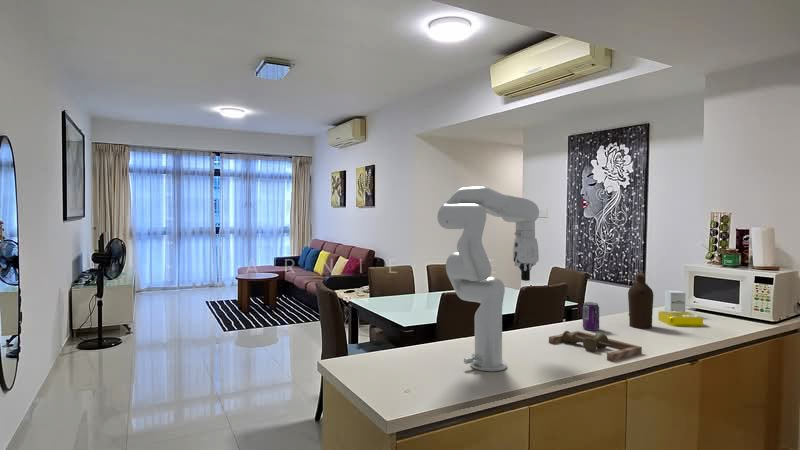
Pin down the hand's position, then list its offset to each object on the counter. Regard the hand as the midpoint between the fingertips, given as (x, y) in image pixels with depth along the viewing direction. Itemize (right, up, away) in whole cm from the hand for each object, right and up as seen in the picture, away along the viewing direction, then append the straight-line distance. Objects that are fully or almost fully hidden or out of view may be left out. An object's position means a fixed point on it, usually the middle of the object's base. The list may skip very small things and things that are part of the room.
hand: (525, 280), depth 183 cm
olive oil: (+63, -26, +33) cm, 76 cm away
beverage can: (+38, -26, +28) cm, 54 cm away
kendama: (+25, -27, 0) cm, 37 cm away
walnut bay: (+27, -27, -1) cm, 38 cm away
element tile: (+86, -26, +40) cm, 98 cm away
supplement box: (+94, -25, +56) cm, 112 cm away
